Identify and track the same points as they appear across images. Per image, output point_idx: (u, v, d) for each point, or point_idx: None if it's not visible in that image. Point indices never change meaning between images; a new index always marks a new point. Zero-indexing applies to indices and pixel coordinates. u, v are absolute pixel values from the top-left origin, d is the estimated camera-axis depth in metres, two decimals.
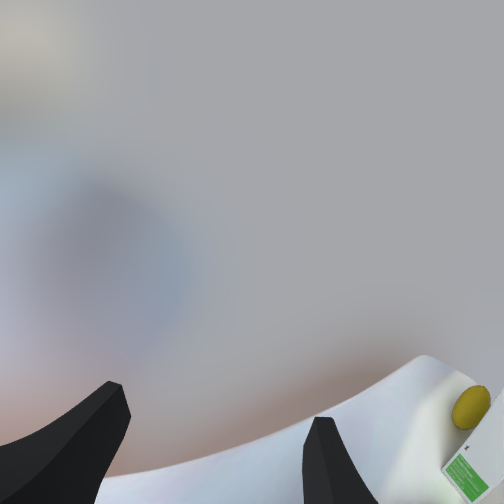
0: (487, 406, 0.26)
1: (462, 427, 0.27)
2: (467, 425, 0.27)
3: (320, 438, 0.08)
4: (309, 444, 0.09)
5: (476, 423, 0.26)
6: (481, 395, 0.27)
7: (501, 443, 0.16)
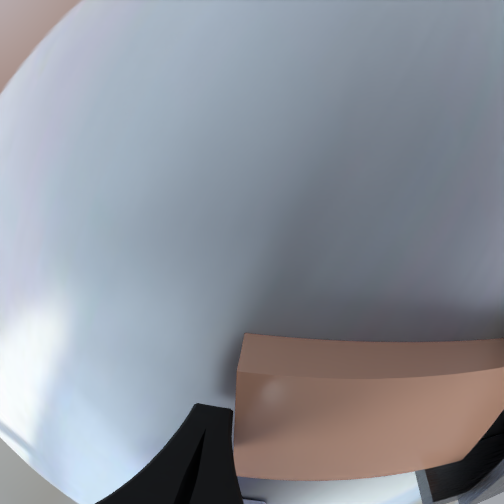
0: None
1: None
2: None
3: (207, 427, 0.08)
4: None
5: None
6: None
7: None
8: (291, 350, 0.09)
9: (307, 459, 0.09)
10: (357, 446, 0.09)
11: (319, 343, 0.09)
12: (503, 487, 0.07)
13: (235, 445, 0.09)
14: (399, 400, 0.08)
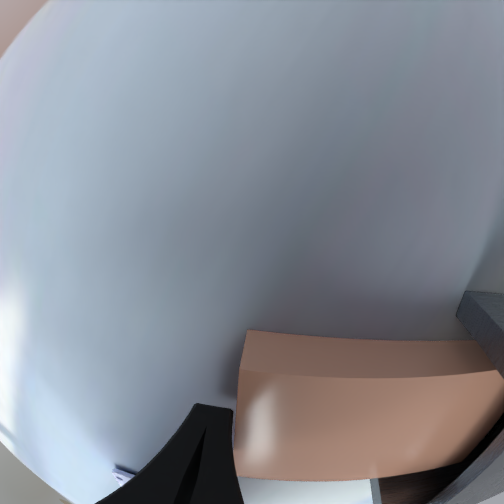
0: None
1: None
2: None
3: (208, 427, 0.08)
4: None
5: None
6: None
7: None
8: (294, 348, 0.09)
9: (308, 459, 0.09)
10: (358, 446, 0.09)
11: (322, 342, 0.09)
12: (469, 501, 0.08)
13: (235, 445, 0.09)
14: (402, 400, 0.08)
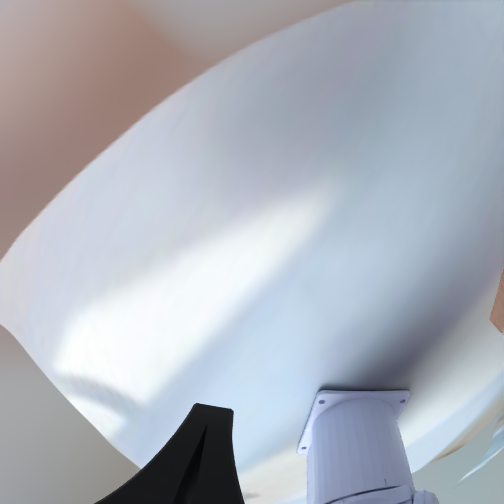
0: None
1: None
2: None
3: (208, 427, 0.08)
4: None
5: None
6: None
7: None
8: None
9: None
10: None
11: None
12: None
13: None
14: None
